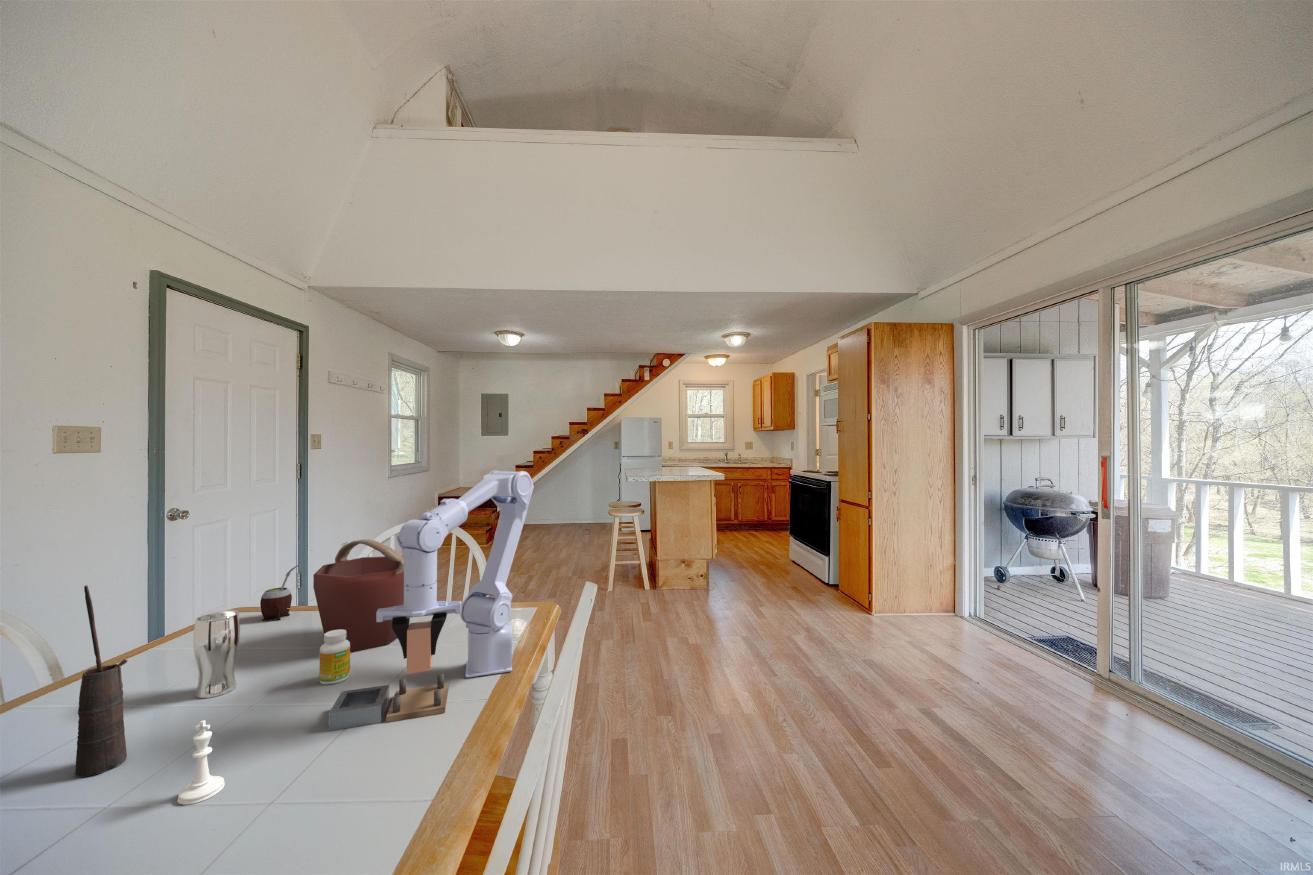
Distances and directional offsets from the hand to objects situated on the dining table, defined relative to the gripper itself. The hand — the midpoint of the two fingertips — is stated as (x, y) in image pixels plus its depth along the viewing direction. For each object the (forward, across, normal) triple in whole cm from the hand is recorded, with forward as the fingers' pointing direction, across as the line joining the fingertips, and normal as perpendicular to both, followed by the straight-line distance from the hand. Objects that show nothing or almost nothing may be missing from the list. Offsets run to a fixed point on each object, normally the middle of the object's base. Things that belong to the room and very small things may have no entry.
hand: (419, 654), depth 94 cm
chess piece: (+10, -26, -16) cm, 32 cm away
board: (+9, 0, 0) cm, 9 cm away
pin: (+2, 0, 0) cm, 2 cm away
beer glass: (+10, -39, +19) cm, 45 cm away
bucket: (+10, -17, +39) cm, 44 cm away
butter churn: (+10, -43, -3) cm, 44 cm away
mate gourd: (+10, -44, +65) cm, 79 cm away
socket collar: (+9, -10, 0) cm, 14 cm away
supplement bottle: (+10, -18, +17) cm, 27 cm away
